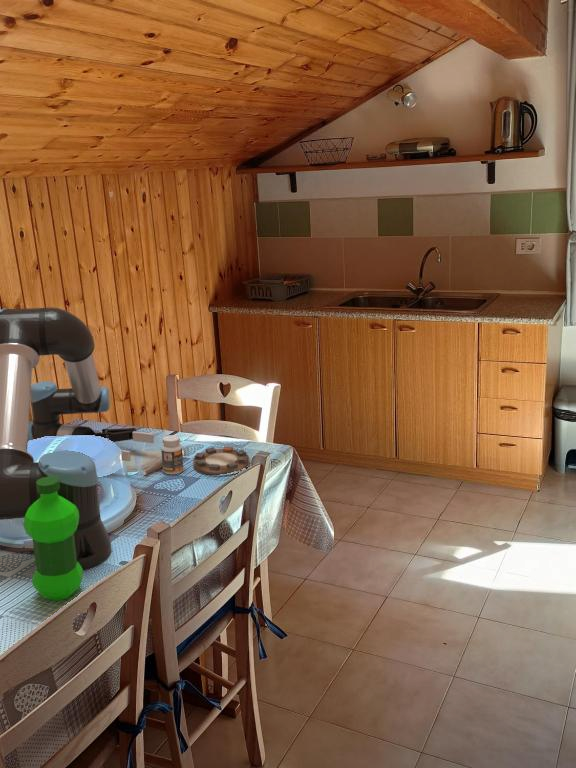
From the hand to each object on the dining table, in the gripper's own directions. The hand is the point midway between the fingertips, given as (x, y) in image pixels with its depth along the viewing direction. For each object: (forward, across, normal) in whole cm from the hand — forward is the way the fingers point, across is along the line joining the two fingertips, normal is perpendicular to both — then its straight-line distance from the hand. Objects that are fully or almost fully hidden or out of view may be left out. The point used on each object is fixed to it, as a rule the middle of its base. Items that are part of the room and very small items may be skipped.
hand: (141, 447), depth 212 cm
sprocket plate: (+21, -8, -6) cm, 23 cm away
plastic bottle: (+15, +62, -6) cm, 64 cm away
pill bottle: (+9, 0, -6) cm, 11 cm away
